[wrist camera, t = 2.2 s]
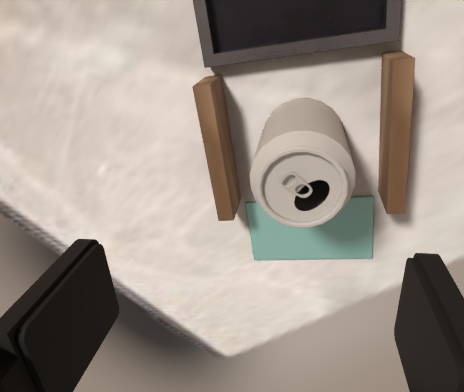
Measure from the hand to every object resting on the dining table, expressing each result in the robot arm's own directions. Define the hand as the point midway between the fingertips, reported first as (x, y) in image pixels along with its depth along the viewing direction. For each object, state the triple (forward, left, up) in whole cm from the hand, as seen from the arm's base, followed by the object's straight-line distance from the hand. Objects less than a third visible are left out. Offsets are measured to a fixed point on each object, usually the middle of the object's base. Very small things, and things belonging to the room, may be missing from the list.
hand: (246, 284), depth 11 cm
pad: (-1, +15, -26) cm, 30 cm away
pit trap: (-1, -7, -26) cm, 27 cm away
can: (-1, +4, -26) cm, 26 cm away
